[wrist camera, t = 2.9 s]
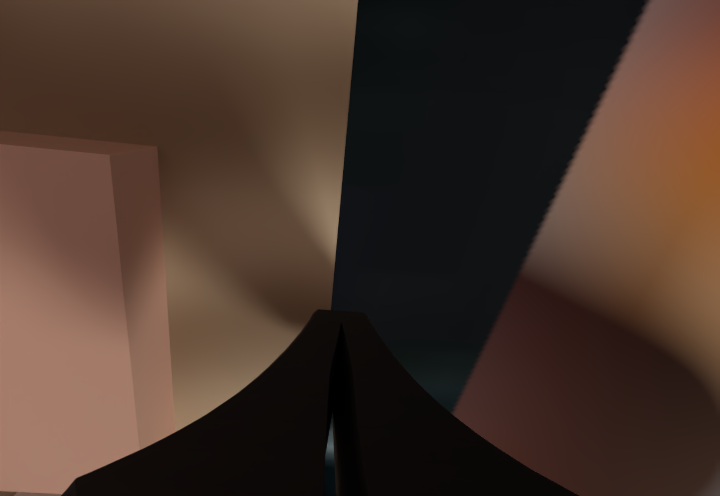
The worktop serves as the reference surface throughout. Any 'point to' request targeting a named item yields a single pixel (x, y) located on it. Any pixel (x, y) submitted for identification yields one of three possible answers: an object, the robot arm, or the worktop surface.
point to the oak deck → (206, 154)
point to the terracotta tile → (79, 308)
